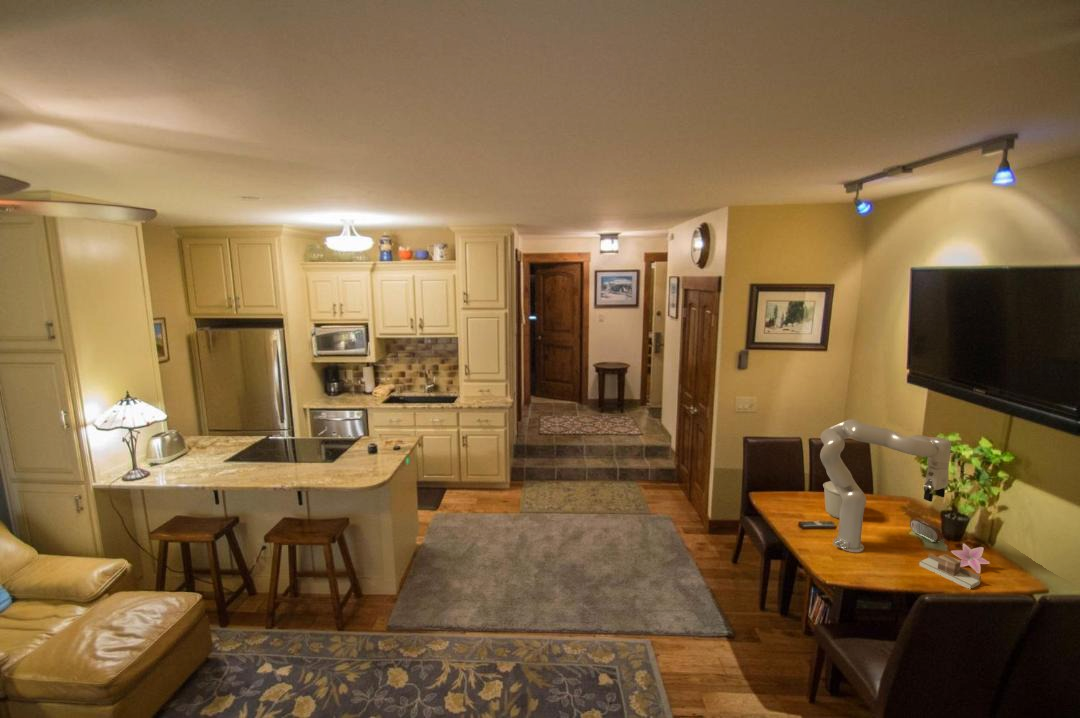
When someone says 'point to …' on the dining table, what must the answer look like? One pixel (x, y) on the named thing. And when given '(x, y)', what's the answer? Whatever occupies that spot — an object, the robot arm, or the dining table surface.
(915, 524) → the tin
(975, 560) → the lily
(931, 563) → the bar
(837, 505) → the canister
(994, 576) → the dining table surface
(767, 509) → the dining table surface
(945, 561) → the crate
